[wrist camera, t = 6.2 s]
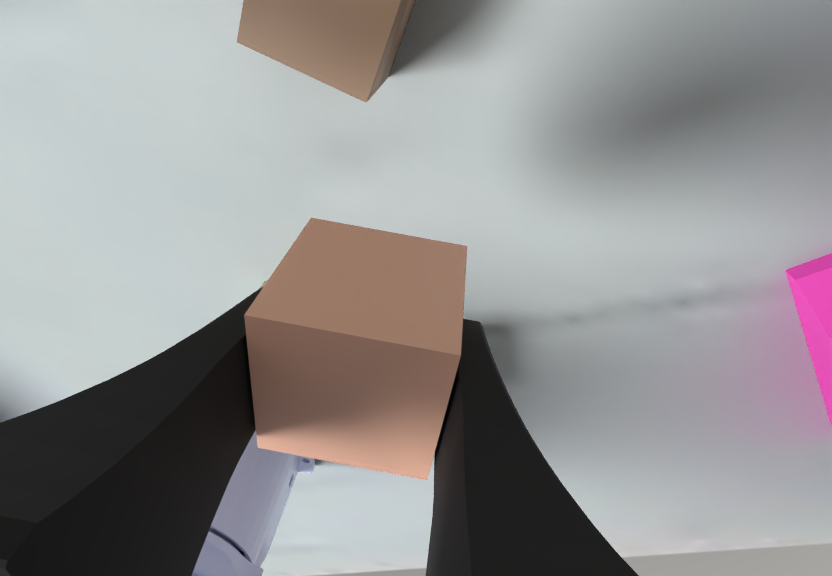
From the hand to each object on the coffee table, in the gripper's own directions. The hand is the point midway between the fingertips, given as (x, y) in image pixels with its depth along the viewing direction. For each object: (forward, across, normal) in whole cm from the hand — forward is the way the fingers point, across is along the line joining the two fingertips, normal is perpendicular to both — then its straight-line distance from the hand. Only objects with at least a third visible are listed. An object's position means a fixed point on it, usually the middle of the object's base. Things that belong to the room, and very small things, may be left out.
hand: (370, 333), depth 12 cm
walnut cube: (+10, +3, -6) cm, 12 cm away
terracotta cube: (+2, 0, 0) cm, 2 cm away
